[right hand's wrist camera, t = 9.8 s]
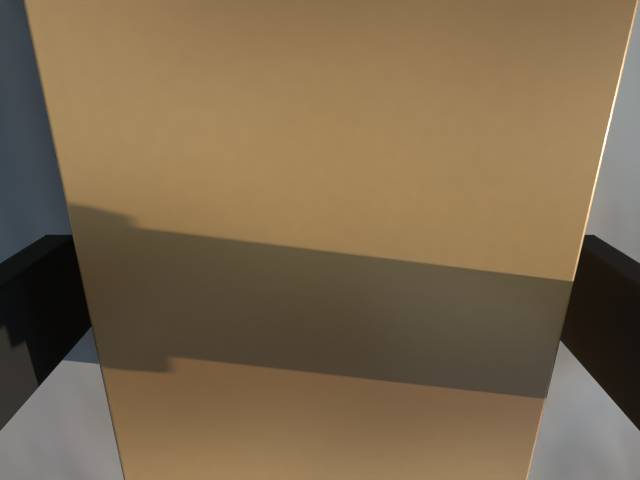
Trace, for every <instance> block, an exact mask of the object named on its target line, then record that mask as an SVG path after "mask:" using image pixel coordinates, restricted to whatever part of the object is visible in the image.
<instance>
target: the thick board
mask: <svg viewBox="0 0 640 480" xmlns="http://www.w3.org/2000/svg"><path fill="white" fill-rule="evenodd" d="M23 2H24V7H25V12H26V17H27V21H28V26H29V31H30V36H31V40H32V45H33V50H34V55H35V59H36V64H37V69H38V74H39V78H40V83H41V88H42V93H43V97H44V102H45V107H46V112H47V116H48V121H49V126H50V131H51V135H52V140H53V145H54V150H55V154H56V159H57V164H58V169H59V173H60V178H61V183H62V188H63V192H64V197H65V202H66V207H67V211H68V216H69V221H70V226H71V230H72V235H73V240H74V245H75V249H76V254H77V259H78V264H79V268H80V273H81V278H82V283H83V287H84V292H85V297H86V302H87V306H88V311H89V316H90V321H91V325H92V330H93V335H94V339H95V344H96V349H97V354H98V358H99V363H100V368H101V373H102V377H103V382H104V387H105V392H106V396H107V401H108V406H109V411H110V415H111V420H112V425H113V430H114V434H115V439H116V444H117V449H118V453H119V458H120V463H121V468H122V472H123V477H124V480H527V479H528V475H529V471H530V466H531V462H532V458H533V454H534V449H535V445H536V441H537V436H538V432H539V428H540V424H541V419H542V415H543V411H544V406H545V402H546V398H547V394H548V389H549V385H550V381H551V376H552V372H553V368H554V363H555V359H556V355H557V351H558V346H559V342H560V338H561V333H562V329H563V325H564V321H565V316H566V312H567V308H568V303H569V299H570V295H571V291H572V286H573V282H574V278H575V273H576V269H577V265H578V261H579V256H580V252H581V248H582V243H583V239H584V235H585V231H586V226H587V222H588V218H589V213H590V209H591V205H592V200H593V196H594V192H595V188H596V183H597V179H598V175H599V170H600V166H601V162H602V158H603V153H604V149H605V145H606V140H607V136H608V132H609V128H610V123H611V119H612V115H613V110H614V106H615V102H616V98H617V93H618V89H619V85H620V80H621V76H622V72H623V67H624V63H625V59H626V55H627V50H628V46H629V42H630V37H631V33H632V29H633V25H634V20H635V16H636V12H637V7H638V3H639V0H23Z"/></svg>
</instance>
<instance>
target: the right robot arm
mask: <svg viewBox="0 0 640 480" xmlns="http://www.w3.org/2000/svg"><path fill="white" fill-rule="evenodd" d="M91 326H92V325H91V321H90V316H89V311H88V306H87V302H86V297H85V292H84V287H83V283H82V278H81V273H80V268H79V264H78V259H77V254H76V249H75V245H74V240H73V235H45V236H44V237H42V238H41V239H39V240H37V241H36V242H34V243H32V244H31V245H29V246H28V247H26V248H24V249H23V250H21V251H20V252H18V253H16V254H15V255H13V256H12V257H10V258H8V259H7V260H5V261H3V262H2V263H0V430H1V429H2V428H3V427H4V426H5V425H6V424H7V422H8V421H9V420H10V419H11V418H12V417H13V416H14V414H15V413H16V412H17V411H18V410H19V409H20V408H21V406H22V405H23V404H24V403H25V402H26V401H27V400H28V398H29V397H30V396H31V395H32V394H33V393H34V392H35V390H36V389H37V388H38V387H39V386H40V385H41V384H42V382H43V381H44V380H45V379H46V378H47V377H48V376H49V374H50V373H51V372H52V371H53V370H54V369H55V368H56V366H57V365H58V364H59V363H60V362H61V361H62V360H63V358H64V357H65V356H66V355H67V354H68V353H69V352H70V350H71V349H72V348H73V347H74V346H75V345H76V344H77V342H78V341H79V340H80V339H81V338H82V337H83V336H84V334H85V333H86V332H87V331H88V330H89V329H90V328H91ZM560 340H561V341H562V342H563V344H564V345H565V346H566V347H567V348H568V349H569V350H570V352H571V353H572V354H573V355H574V356H575V357H576V358H577V360H578V361H579V362H580V363H581V364H582V365H583V366H584V368H585V369H586V370H587V371H588V372H589V373H590V374H591V376H592V377H593V378H594V379H595V380H596V381H597V382H598V384H599V385H600V386H601V387H602V388H603V389H604V390H605V392H606V393H607V394H608V395H609V396H610V397H611V398H612V400H613V401H614V402H615V403H616V404H617V405H618V406H619V408H620V409H621V410H622V411H623V412H624V413H625V414H626V416H627V417H628V418H629V419H630V420H631V421H632V422H633V424H634V425H635V426H636V427H637V428H638V429H639V430H640V263H638V262H637V261H635V260H633V259H632V258H630V257H628V256H627V255H625V254H624V253H622V252H620V251H619V250H617V249H616V248H614V247H612V246H611V245H609V244H608V243H606V242H604V241H603V240H601V239H599V238H598V237H596V236H595V235H584V239H583V243H582V248H581V252H580V256H579V261H578V265H577V269H576V273H575V278H574V282H573V286H572V291H571V295H570V299H569V303H568V308H567V312H566V316H565V321H564V325H563V329H562V333H561V338H560Z"/></svg>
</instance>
